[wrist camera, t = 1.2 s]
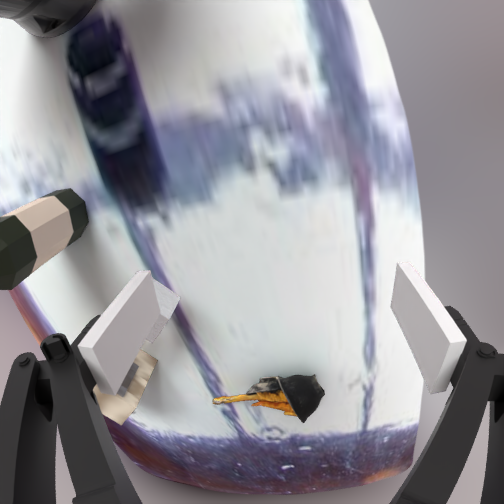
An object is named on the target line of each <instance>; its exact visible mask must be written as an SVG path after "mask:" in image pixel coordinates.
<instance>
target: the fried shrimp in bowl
mask: <svg viewBox="0 0 504 504" xmlns="http://www.w3.org/2000/svg"><path fill="white" fill-rule="evenodd" d="M324 395H325V392H324V390H323V389H322V387H321V386H320V385H319V384H318V382H317V380H316V377H315V374H314V375H313V376H302V375H294V376H290V377H287V378H282V377H279V376H277V377H264V378H260V383H258V384H255V385H253V386H252V387H251V388H250V389H249V391H248V392H247V393H246V394H245V395H238V396H230V397H226V396H222V397H219V398H214V399H213V402H212V403H213V404H217V405H219V404H221V403H231V402H238V401H245V400H254V401H255V400H258V401H259V402H257V403H254V404H252V405H251V406H259V405H261V406H266V407H270V408H274V409H278V410H282V411H285V412H284V414H285V415H291V416H298V418H299V419H300V420H301V422H303V423H305V421H306V420H307V418H308V417H309V416H310V415H311V414H312V413H313V412H314V411H315V410H316V408H317V407H318V405H319V403H320V400H321V398H322V397H323V396H324Z"/></svg>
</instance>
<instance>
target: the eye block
mask: <svg viewBox="0 0 504 504" xmlns="http://www.w3.org/2000/svg"><path fill="white" fill-rule="evenodd" d="M157 361H158V360H157V359H155V358H153V357H152V356H150V355H149V354H147V353H145V352H144V351H142V350H141V349H140V351H139V352H138V354H137V356H136V358H135V360H134V362H133V363H132V365H131V367H130V369H129V371H128V373H127V375H126V376H125V378H124V380H123V382H122V384H121V386H120V388H119V390H118V392H117V394H116V395H115V396H114V395H109V394H103V393H101V392H100V390H99V388H98V386H97V384H96V385H95V387H94V389H93V391H94V393H95V395H96V398H97V401H98V404H99V406H100V409H101V412H102V414H104V415H105V416H107V417H109V418H110V419H112V420H114V421H115V422H117V423H119V424H120V425H122V424H123V422H124V421H125V420H126V419H127V418H128V417H129V416H130V414H131V413H132V412H133V411H134V410H135V409H136V407H137V405H138V403H139V400H140V398H141V396H142V394H143V391H144V389H145V387H146V385H147V383H148V380H149V378H150V376H151V374H152V372H153V369H154V367H155V365H156V363H157Z"/></svg>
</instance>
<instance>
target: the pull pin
mask: <svg viewBox="0 0 504 504" xmlns="http://www.w3.org/2000/svg"><path fill="white" fill-rule="evenodd" d="M152 280H153V284H154V288H155V292H156V296H157V300H158V304H159V308H160V312H161V313H160V315H159V317H158V318H157V320H156V322H155V324H154V325H153V327H152V329H151V331H150V333H149V334H148V336H147V338H146V340H148V341H149V342H151V343H153V342H154V340H155V339H156V337H157V336H158V335H159V333H160V332H161V330H162V329H163V328H164V326H165V325H166V324H167V322H168V321H169V319H170V317H171V315H172V313H173V311H174V310H175V308H176V306H177V304H178V302H179V300H180V298H181V297H180V296H178V295H177V294H175V293H174V292H172V291H171V290H169V289H168V288H166V287H165V286H164V285H162V284H161V283H159V282H158V281H156V280H155V279H153V278H152Z"/></svg>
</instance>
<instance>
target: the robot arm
mask: <svg viewBox="0 0 504 504" xmlns="http://www.w3.org/2000/svg"><path fill="white" fill-rule="evenodd" d="M95 2H96V0H0V18H7V19H12V20H14V21H15V22H16V23H18V24H19V25H20V26H21V27H22V28H24V29H25V30H26V31H27V32H29V33H30V34H32V35H35V36H40V37H46V38H49V37H55V36H58V35H60V34H62V33H64V32H66V31H68V30H69V29H71V28H72V27H74V26H75V25H76V24H77V23H78V22H79V21H80V20H82V19H83V17H84V16H85V15H86V14H87V13H88V12H89V11H90V9H91V8H92V7H93V5H94V4H95ZM391 309H392V311H393V313H394V315H395V317H396V319H397V321H398V323H399V325H400V327H401V329H402V332H403V334H404V336H405V338H406V340H407V342H408V344H409V347H410V349H411V351H412V353H413V355H414V358H415V360H416V362H417V364H418V367H419V369H420V371H421V374H422V376H423V378H424V381H425V383H426V385H427V388H428V390H429V393H430V394H434V393H439V392H444V391H446V389H447V387H448V385H449V382H451V384H452V386H453V390H452V392H451V394H450V396H449V398H448V400H447V402H446V406H445V408H444V410H443V412H442V415H441V416H440V419H439V421H438V423H437V425H436V427H435V429H434V431H433V433H432V435H431V436H430V439H429V440H428V442H427V444H426V446H425V448H424V449H423V451H422V453H421V455H420V457H419V459H418V460H417V462H416V464H415V465H414V467H413V468H412V470H411V472H410V474H409V475H408V477H407V478H406V480H405V481H404V483H403V484H402V486H401V487H400V489H399V490H398V492H397V494H396V495H395V496H394V498H393V499H392V501H391V502H390V503H389V504H446V503H447V501H448V499H449V497H450V495H451V493H452V491H453V489H454V487H455V485H456V483H457V481H458V479H459V477H460V474H461V472H462V470H463V468H464V465H465V463H466V461H467V458H468V456H469V454H470V451H471V448H472V446H473V443H474V440H475V438H476V435H477V432H478V430H479V427H480V424H481V421H482V417H483V415H484V411H485V408H486V405H487V401H490V422H489V423H490V424H489V441H488V453H487V463H486V471H485V479H484V486H483V491H482V497H481V503H480V504H504V354H498V352H497V350H496V349H495V348H494V347H493V346H492V345H490V344H488V343H483V342H480V341H479V340H478V338H477V337H476V335H475V334H474V333H473V331H472V330H471V328H470V327H469V325H467V323H466V321H465V320H463V317H462V316H461V314H460V313H459V312H458V311H457V310H455V309H454V308H453V307H451V306H446V307H444V306H443V305H442V303H441V302H440V301H439V299H438V298H437V296H436V295H435V294H434V292H433V291H432V290H431V288H430V287H429V286H428V284H427V283H426V282H425V280H424V279H423V278H422V276H421V275H420V274H419V273H418V271H417V270H416V269H415V267H414V266H413V265H412V264H411V262H397V268H396V275H395V282H394V289H393V295H392V301H391ZM160 313H161V312H160V308H159V304H158V300H157V296H156V292H155V288H154V284H153V280H152V275H151V271H137V273H136V274H135V275H134V276H133V277H132V279H131V280H130V281H129V282H128V283H127V284H126V286H125V287H124V288H123V289H122V290H121V292H120V293H119V294H118V295H117V297H116V298H115V299H114V300H113V301H112V303H111V304H110V305H109V306H108V308H107V309H106V310H105V311H104V313H103V314H102V315H98V316H96V317H95V318H93V319H92V320H90V322H89V323H88V324H87V325H86V327H85V328H84V329H83V330H82V332H81V333H80V334H79V335H78V337H77V338H76V339H75V340H74V342H73V343H72V344H71V346H70V344H69V342H68V340H67V338H66V336H65V335H64V334H61V333H57V334H52V335H50V336H48V337H47V338H45V339H44V340H43V341H42V343H41V345H40V348H41V350H42V352H43V354H44V356H45V357H46V360H43V361H38V360H37V358H36V356H35V355H34V354H33V353H31V352H30V353H29V352H27V353H23V354H21V355H19V356H18V357H17V358H16V359H15V360H14V362H13V365H12V368H11V371H10V374H9V377H8V380H7V384H6V388H5V390H4V394H3V398H2V401H1V405H0V504H56V493H55V492H56V490H55V455H56V433H57V425H58V429H59V434H60V438H61V443H62V447H63V451H64V455H65V459H66V462H67V466H68V469H69V473H70V476H71V479H72V483H73V486H74V489H75V492H76V497H75V498H73V500H72V502H73V504H142V502H141V500H140V498H139V496H138V495H137V493H136V491H135V489H134V487H133V485H132V483H131V481H130V479H129V477H128V475H127V473H126V470H125V468H124V466H123V464H122V462H121V459H120V457H119V455H118V453H117V450H116V448H115V445H114V443H113V441H112V438H111V436H110V433H109V431H108V428H107V426H106V423H105V420H104V418H103V415H102V412H101V409H100V406H99V404H98V401H97V398H96V395H95V393H94V391H93V389H94V387H95V385H96V384H97V386H98V388H99V390H100V392H101V393H103V394H109V395H114V396H115V395H116V394H117V392H118V390H119V388H120V386H121V384H122V382H123V380H124V378H125V376H126V375H127V373H128V371H129V369H130V367H131V365H132V363H133V362H134V360H135V358H136V356H137V354H138V352H139V351H140V349H141V347H142V345H143V343H144V342H145V340H146V338H147V336H148V334H149V333H150V331H151V329H152V327H153V325H154V324H155V322H156V320H157V318H158V317H159V315H160Z"/></svg>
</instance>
